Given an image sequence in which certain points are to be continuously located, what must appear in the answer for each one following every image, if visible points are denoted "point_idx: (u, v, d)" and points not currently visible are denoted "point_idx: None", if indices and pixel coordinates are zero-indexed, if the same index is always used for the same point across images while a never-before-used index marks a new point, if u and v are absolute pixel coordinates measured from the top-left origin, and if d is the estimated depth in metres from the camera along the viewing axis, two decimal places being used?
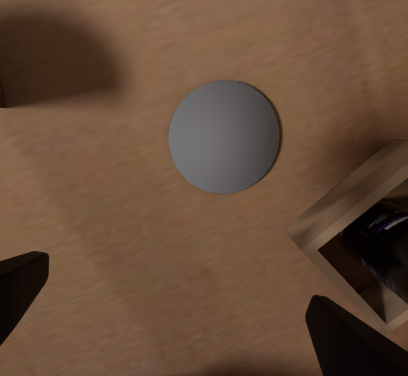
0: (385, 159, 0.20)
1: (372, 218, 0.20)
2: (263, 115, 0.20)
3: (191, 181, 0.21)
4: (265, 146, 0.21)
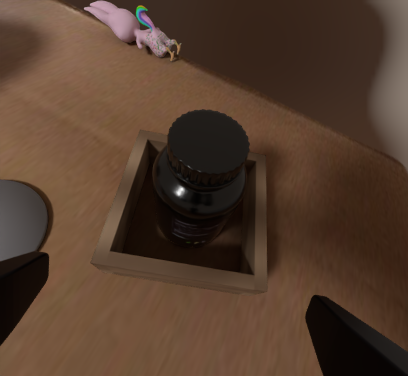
0: None
1: None
2: (15, 191, 0.21)
3: None
4: (30, 211, 0.21)
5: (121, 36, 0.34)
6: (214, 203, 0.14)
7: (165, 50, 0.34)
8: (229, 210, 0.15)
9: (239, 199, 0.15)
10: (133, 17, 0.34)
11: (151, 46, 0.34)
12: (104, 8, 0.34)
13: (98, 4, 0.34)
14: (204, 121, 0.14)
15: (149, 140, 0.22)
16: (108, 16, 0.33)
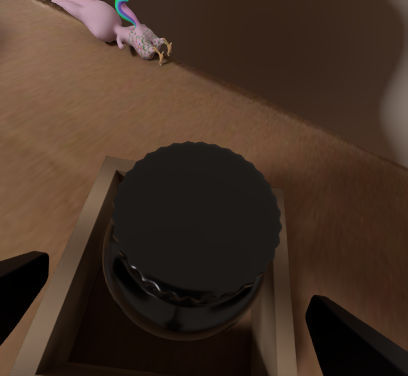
0: None
1: None
2: None
3: None
4: None
5: (98, 34, 0.27)
6: (211, 318, 0.07)
7: (152, 50, 0.28)
8: None
9: (256, 297, 0.09)
10: (112, 11, 0.27)
11: (135, 46, 0.28)
12: (77, 0, 0.28)
13: None
14: (190, 167, 0.07)
15: (119, 171, 0.16)
16: (81, 9, 0.27)
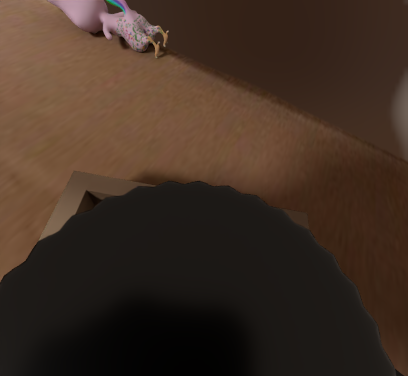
0: None
1: None
2: None
3: None
4: None
5: (80, 22, 0.23)
6: None
7: (146, 41, 0.24)
8: None
9: None
10: None
11: (125, 36, 0.24)
12: None
13: None
14: (172, 249, 0.03)
15: (90, 192, 0.12)
16: None
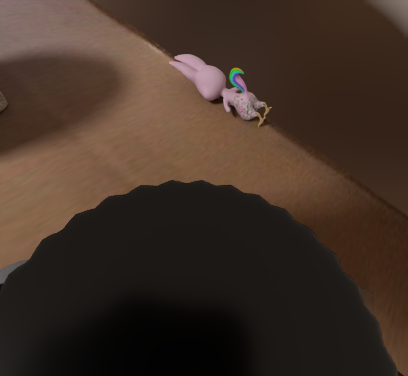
0: None
1: None
2: None
3: None
4: None
5: (207, 96, 0.30)
6: None
7: (255, 115, 0.30)
8: None
9: None
10: (223, 76, 0.30)
11: (239, 109, 0.30)
12: (191, 63, 0.31)
13: (184, 58, 0.31)
14: (175, 248, 0.03)
15: None
16: (196, 74, 0.30)
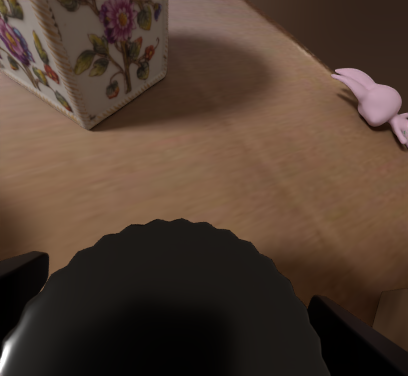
0: (395, 319, 0.14)
1: None
2: None
3: None
4: None
5: (377, 121, 0.25)
6: None
7: None
8: None
9: None
10: None
11: None
12: (358, 80, 0.26)
13: (351, 73, 0.26)
14: (157, 279, 0.04)
15: None
16: (369, 93, 0.25)
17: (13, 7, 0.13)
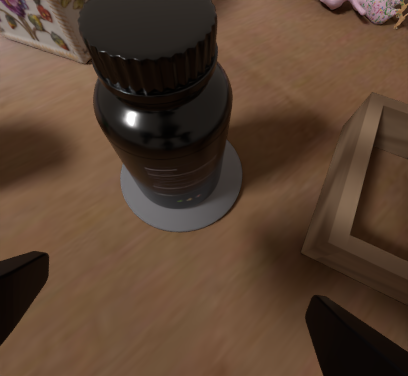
0: (348, 132, 0.19)
1: None
2: None
3: (157, 224, 0.17)
4: (226, 164, 0.19)
5: (336, 1, 0.27)
6: (187, 124, 0.09)
7: (394, 13, 0.26)
8: (214, 133, 0.10)
9: (225, 114, 0.10)
10: None
11: (373, 10, 0.27)
12: None
13: None
14: None
15: (384, 107, 0.17)
16: None
17: None
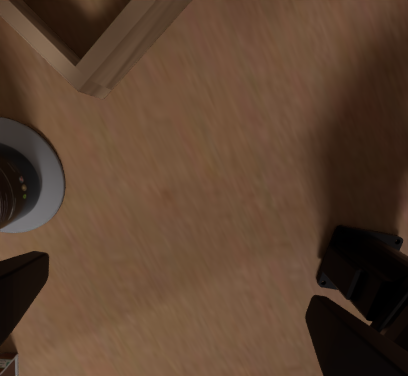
0: None
1: None
2: None
3: (52, 211, 0.20)
4: None
5: None
6: None
7: None
8: None
9: None
10: None
11: None
12: None
13: None
14: None
15: None
16: None
17: None
